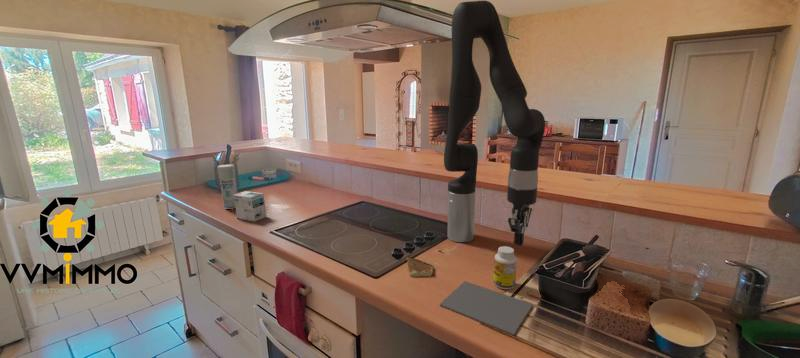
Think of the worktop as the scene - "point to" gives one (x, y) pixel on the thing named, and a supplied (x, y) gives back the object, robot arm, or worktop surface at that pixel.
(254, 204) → the light bulb box
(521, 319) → the mat
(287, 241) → the worktop surface
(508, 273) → the supplement bottle
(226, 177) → the spray can
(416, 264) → the shard
